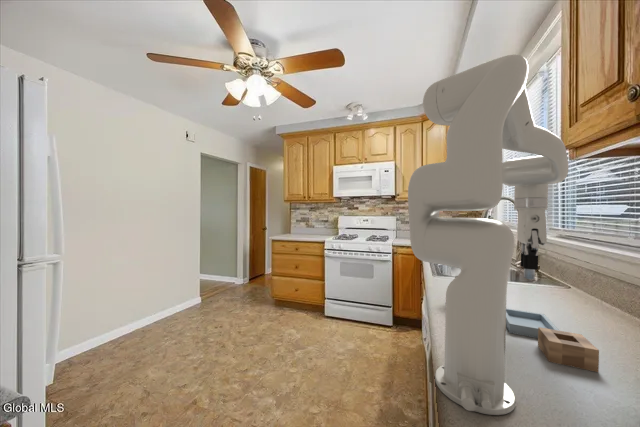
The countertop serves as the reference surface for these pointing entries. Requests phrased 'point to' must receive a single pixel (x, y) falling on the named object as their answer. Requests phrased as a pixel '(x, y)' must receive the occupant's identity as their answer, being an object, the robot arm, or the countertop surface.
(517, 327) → the tray
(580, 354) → the bore block
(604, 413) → the countertop surface
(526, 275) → the pin
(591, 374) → the countertop surface
